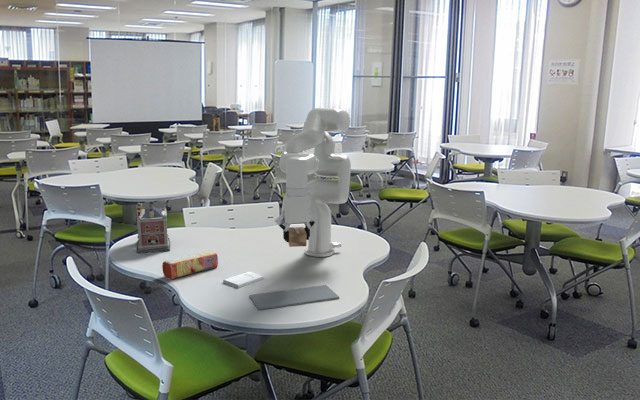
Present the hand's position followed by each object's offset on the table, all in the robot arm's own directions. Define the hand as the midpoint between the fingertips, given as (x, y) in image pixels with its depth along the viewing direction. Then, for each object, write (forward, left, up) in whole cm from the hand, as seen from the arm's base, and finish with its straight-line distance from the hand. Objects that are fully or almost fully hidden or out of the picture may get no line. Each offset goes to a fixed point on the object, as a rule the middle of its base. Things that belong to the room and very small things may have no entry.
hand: (296, 239), depth 199 cm
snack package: (+35, -22, -16) cm, 44 cm away
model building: (+45, -61, -16) cm, 77 cm away
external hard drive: (+18, -6, -16) cm, 25 cm away
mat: (+6, +15, -16) cm, 22 cm away
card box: (0, 0, -1) cm, 1 cm away
